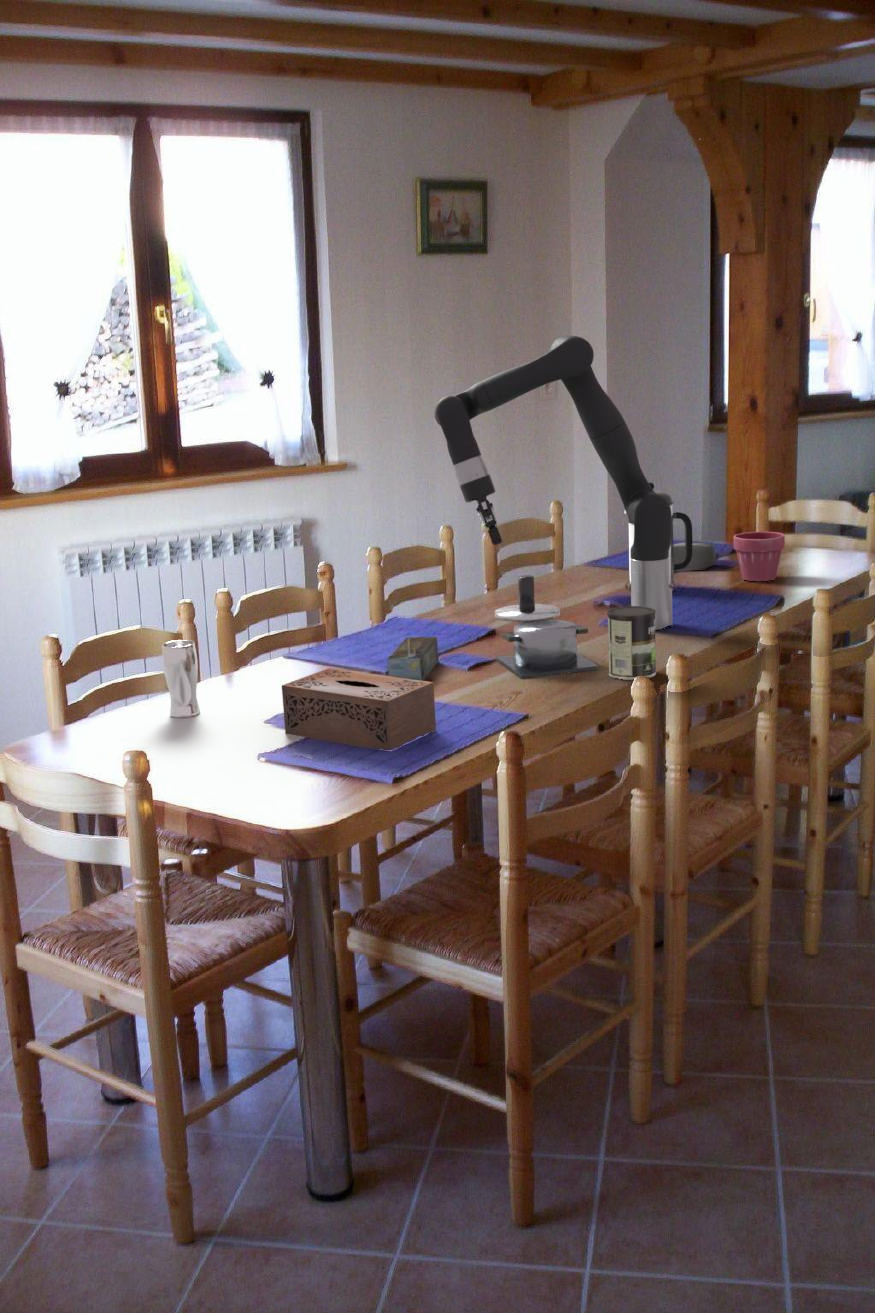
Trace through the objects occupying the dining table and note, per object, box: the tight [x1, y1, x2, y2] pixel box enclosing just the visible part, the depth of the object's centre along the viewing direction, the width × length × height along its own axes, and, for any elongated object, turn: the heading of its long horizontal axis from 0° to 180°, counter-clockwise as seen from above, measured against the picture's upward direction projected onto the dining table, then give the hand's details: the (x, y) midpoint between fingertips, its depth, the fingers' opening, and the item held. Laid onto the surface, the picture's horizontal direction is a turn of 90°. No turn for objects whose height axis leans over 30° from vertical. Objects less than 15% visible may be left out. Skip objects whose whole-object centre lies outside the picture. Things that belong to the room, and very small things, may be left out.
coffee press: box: [623, 481, 693, 590], centre depth 383 cm, size 17×16×30 cm
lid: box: [494, 574, 561, 623], centre depth 318 cm, size 15×15×9 cm
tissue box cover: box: [281, 667, 437, 750], centre depth 266 cm, size 26×14×10 cm, turn 55°
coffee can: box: [606, 605, 657, 681], centre depth 297 cm, size 10×10×14 cm
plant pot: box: [733, 531, 786, 581], centre depth 390 cm, size 14×14×13 cm
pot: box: [495, 619, 599, 679], centre depth 309 cm, size 19×18×9 cm
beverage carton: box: [386, 636, 440, 681], centre depth 309 cm, size 8×19×7 cm, turn 168°
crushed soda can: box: [161, 639, 201, 719], centre depth 284 cm, size 7×7×15 cm
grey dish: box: [673, 542, 720, 572], centre depth 414 cm, size 18×11×8 cm, turn 80°
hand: (497, 543), depth 325 cm, fingers open, 8 cm apart
